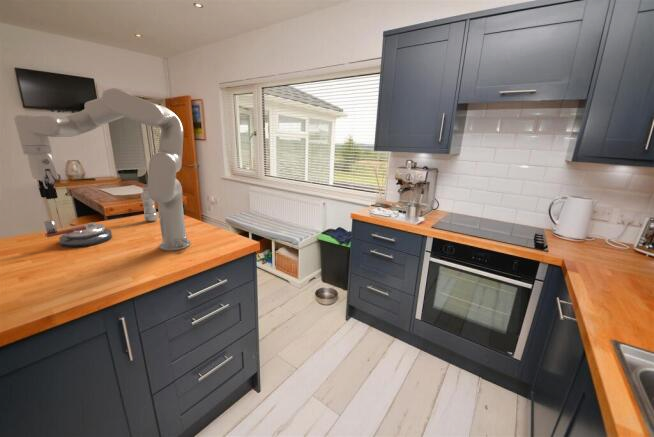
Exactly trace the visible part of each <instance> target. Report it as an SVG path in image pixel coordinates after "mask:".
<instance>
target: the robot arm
mask: <svg viewBox="0 0 654 437" xmlns="http://www.w3.org/2000/svg"><path fill="white" fill-rule="evenodd" d="M123 118H126V119H130V120H131V121H134V122H138V123H141V124H143V125H145V126H148V127H154V128H159V129H160V134H159V139H158V140H159V141H158V143H159V145H158V151H157V152H156V153H155V154H153V155H152V156H151V157H150V160H149V162H148V171H147V172H148V173H147V186H148V194H149V196H150V198H151V199H152V200H153V201H154V202H155V203H157V210H158V220H159V224H160V232H161V239H162V242H160V243H159V245H158V246H159V249H160V250H162V251H169V252H172V251H173V252H174V251H178V250H183V249H186V248H188V247H190V246H191V240H190V239H189V238H188V237H187V234H186V233H187V232H186V224H185V215H184V214H185V213H184V206H183V204H184V203H183V187H182V184H181V182H180V181H179V180H178V179H177V173H178V172H180V170H181V169H182V164H183V150H184V149H183V148H184V147H183V146H184V145H183V144H184V127H183V124H182V121H181V120H180V118H179V117H178V115H176V114H175V112H173V111H172V110H170V109H169V108H167V107H166V106H164V105H161V104H158V103H153V102H151V101H149V100H147V99H146V100H145V99H143V98H141V97H138V96H136V95H134V94H132V93H130V92H129V91H127V90H123V89H120V88H116V87H113V88H107V89H106V90H105V91H104V92H103V93H102V94H101V97H98V98H95V99H92V100H88V101H85V103H84V109H82V110H80V111H78V112H75V113H73V114H69V115H65V116H61V115H60V116H59V115H45V114H44V115H33V114H32V115H30V114H17V115H15V116H14V123H15V128H16V131H17V134H18V137H19V138H18V139H19V141H20V146H21V148H22V154H23V155H27V161H28V165H29V166H28V167H29V168H30V173H31V176H32V178H33V179H34V180H36V182H37V186H38V190H39V194H40V197H41V198H43V199H44V198H45V199H47V200H52V199H58V192H57V187H56V185H55V184H56V182H55V181H58V180H59V174H58V172H57V167H56V164H55V162H54V159H53V156H52V155H53V152H52V146H51V144H50V138H71V137H76V136H79V135H82V134H85V133H89V132H91V131H93V130H96V129H97V128H100V127H101V126H103V125H106V124H109V123H111V122H114V121H117V120H119V119H123ZM49 137H50V138H49Z"/></svg>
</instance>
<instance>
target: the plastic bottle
mask: <svg viewBox="0 0 654 437" xmlns="http://www.w3.org/2000/svg"><path fill="white" fill-rule="evenodd" d="M142 191H143V192H142V193H141V195H140V199H141V201H142V206H143V212H144V214H143V218H144V221H146V222H155V221H157V220H159V214H158V213H157V210H156V205H155V204H156V202H155V201H153V200H152V199H151V198H150V196H149V194H148V185H147V186H142Z"/></svg>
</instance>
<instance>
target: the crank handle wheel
mask: <svg viewBox="0 0 654 437" xmlns="http://www.w3.org/2000/svg"><path fill="white" fill-rule="evenodd" d="M43 224H44V227H45V231H46V233H44V235H45V236H44V237H46V238H50V237H51V238H52V237H56V236H62V235H65V237H66V238H67V239H84V238H90V237H95V236H98V235H101V234H103V233H105V229H106V226H105V225H104V224H101V223H100V224H99V223H96V222H88V223H86V224H81V225H76V226H73V227H68V228H67V229H66V228H65V229H60V230H57V227H56V226H57V225H56V222H55V220H45V221H44V222H43Z"/></svg>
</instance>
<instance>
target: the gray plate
mask: <svg viewBox="0 0 654 437" xmlns="http://www.w3.org/2000/svg"><path fill="white" fill-rule="evenodd" d="M58 239H59V244H60V246H61V247H62V248H65V249H81V248H87V247H92V246H97V245H101V244H104V243H107V242H108V241H110V240H111V239H113V235H112V230H111V229H109V228H105V233H103V234H101V235H98V236H95V237H90V238H84V239H67V238H66V237H65V234H61V235H60V236H59V238H58Z"/></svg>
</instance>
